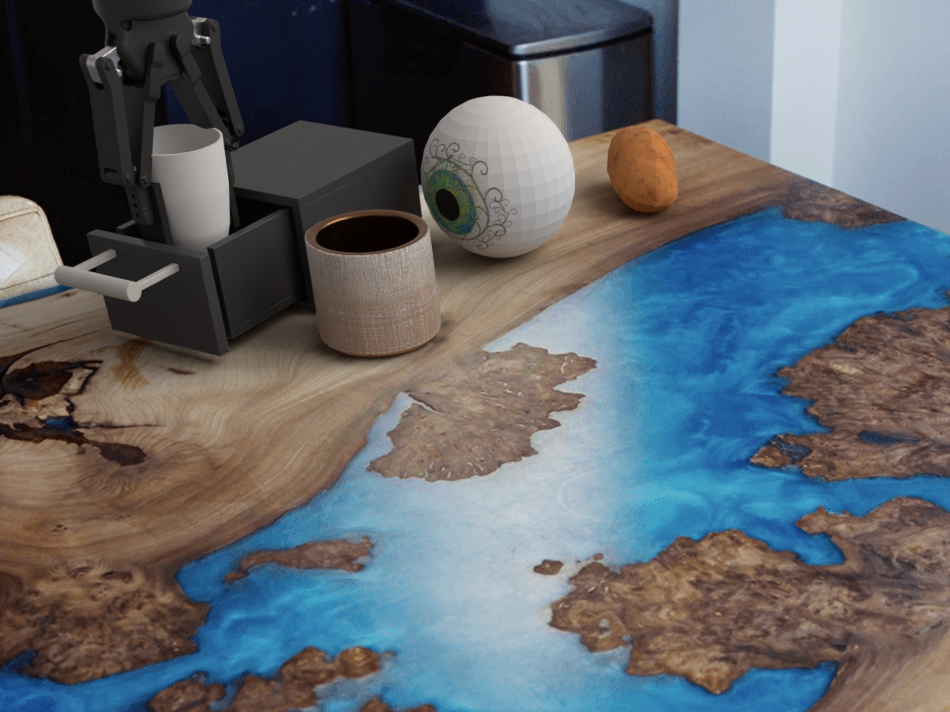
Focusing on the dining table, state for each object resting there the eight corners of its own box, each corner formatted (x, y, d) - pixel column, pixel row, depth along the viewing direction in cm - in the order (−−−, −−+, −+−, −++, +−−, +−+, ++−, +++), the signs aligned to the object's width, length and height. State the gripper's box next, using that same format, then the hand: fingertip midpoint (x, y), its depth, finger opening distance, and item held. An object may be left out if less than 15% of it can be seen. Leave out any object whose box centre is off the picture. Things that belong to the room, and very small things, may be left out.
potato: (661, 178, 159) (670, 115, 154) (681, 229, 150) (692, 164, 145) (598, 174, 157) (605, 110, 153) (615, 225, 148) (623, 160, 144)
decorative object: (399, 252, 142) (380, 99, 133) (514, 213, 150) (503, 66, 141) (493, 296, 134) (479, 135, 125) (609, 251, 142) (604, 98, 133)
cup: (177, 233, 129) (151, 121, 123) (259, 239, 127) (238, 126, 121) (133, 267, 123) (104, 152, 116) (220, 274, 121) (195, 157, 115)
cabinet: (317, 313, 131) (297, 198, 125) (202, 287, 136) (177, 175, 130) (425, 246, 144) (413, 138, 137) (316, 224, 149) (299, 119, 142)
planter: (458, 314, 131) (448, 212, 125) (417, 366, 122) (403, 260, 116) (349, 304, 133) (333, 204, 127) (300, 355, 124) (281, 250, 118)
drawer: (170, 387, 118) (145, 286, 112) (59, 358, 122) (29, 259, 117) (337, 286, 134) (323, 193, 128) (233, 263, 138) (215, 172, 133)
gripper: (186, -72, 119) (238, 196, 133) (-4, -19, 104) (77, 275, 119) (256, -64, 116) (301, 208, 130) (71, -8, 102) (145, 291, 116)
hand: (194, 240), depth 124 cm, fingers closed on cup, 8 cm apart
